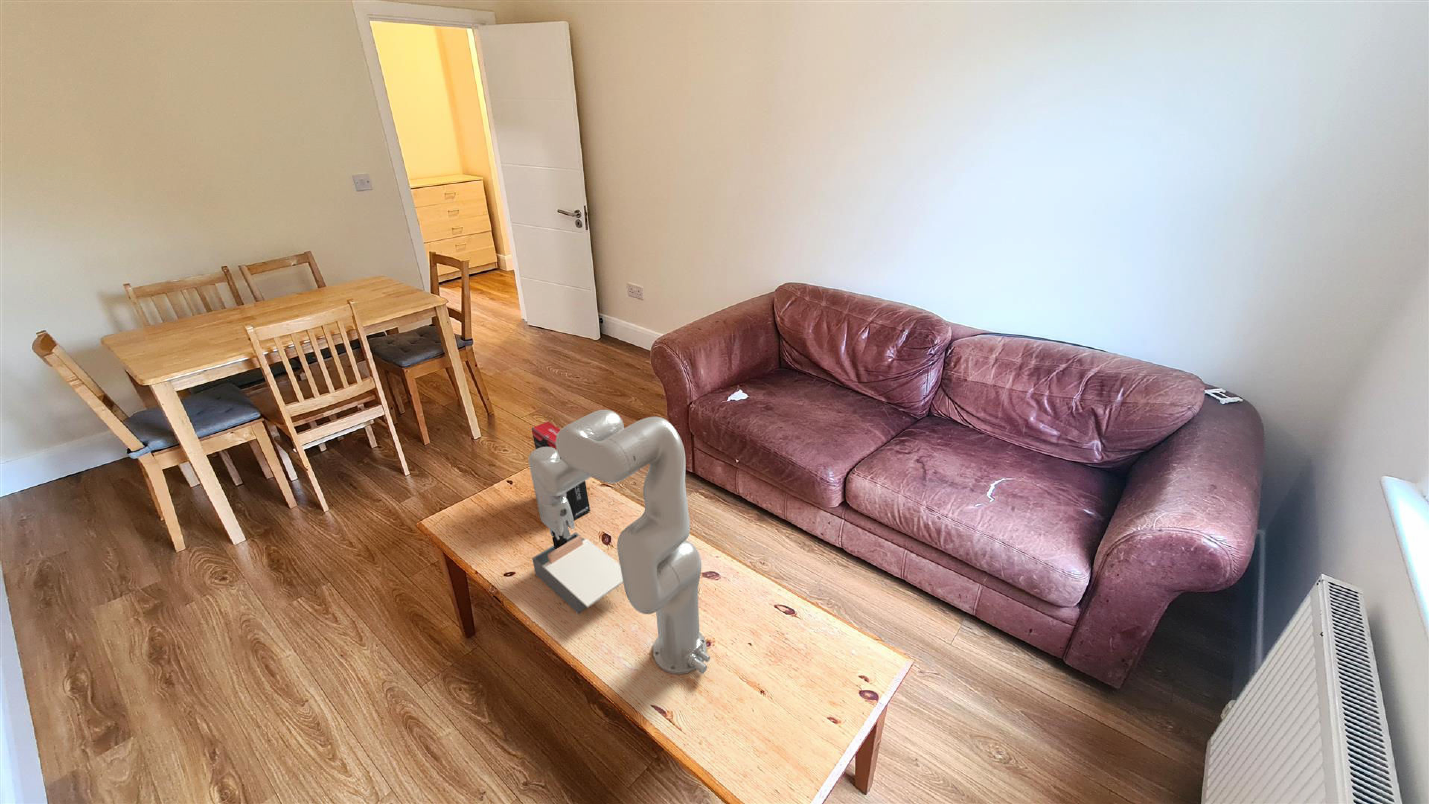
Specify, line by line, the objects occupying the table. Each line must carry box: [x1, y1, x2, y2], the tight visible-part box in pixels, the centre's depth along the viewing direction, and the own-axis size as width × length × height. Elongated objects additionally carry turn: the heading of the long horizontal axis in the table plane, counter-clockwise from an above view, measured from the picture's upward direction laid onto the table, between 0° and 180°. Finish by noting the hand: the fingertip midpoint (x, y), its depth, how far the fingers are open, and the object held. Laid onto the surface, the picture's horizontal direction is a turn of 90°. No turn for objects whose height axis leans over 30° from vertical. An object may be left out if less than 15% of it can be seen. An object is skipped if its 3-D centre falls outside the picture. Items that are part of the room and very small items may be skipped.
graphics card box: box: [531, 421, 591, 521], centre depth 177 cm, size 17×7×27 cm, turn 46°
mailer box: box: [532, 532, 588, 615], centre depth 155 cm, size 20×14×6 cm
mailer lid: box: [543, 534, 623, 609], centre depth 149 cm, size 20×14×3 cm
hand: (560, 546), depth 156 cm, fingers closed
